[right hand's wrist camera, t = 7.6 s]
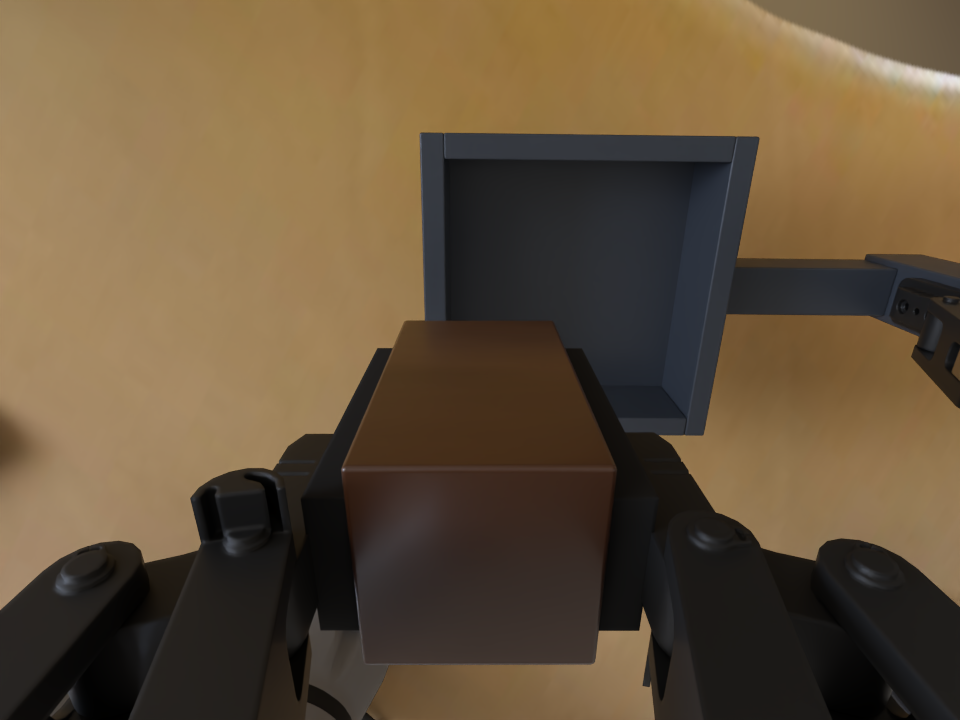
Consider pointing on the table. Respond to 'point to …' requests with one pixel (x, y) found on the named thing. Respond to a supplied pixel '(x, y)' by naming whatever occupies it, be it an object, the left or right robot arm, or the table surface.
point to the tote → (626, 256)
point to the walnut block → (479, 501)
